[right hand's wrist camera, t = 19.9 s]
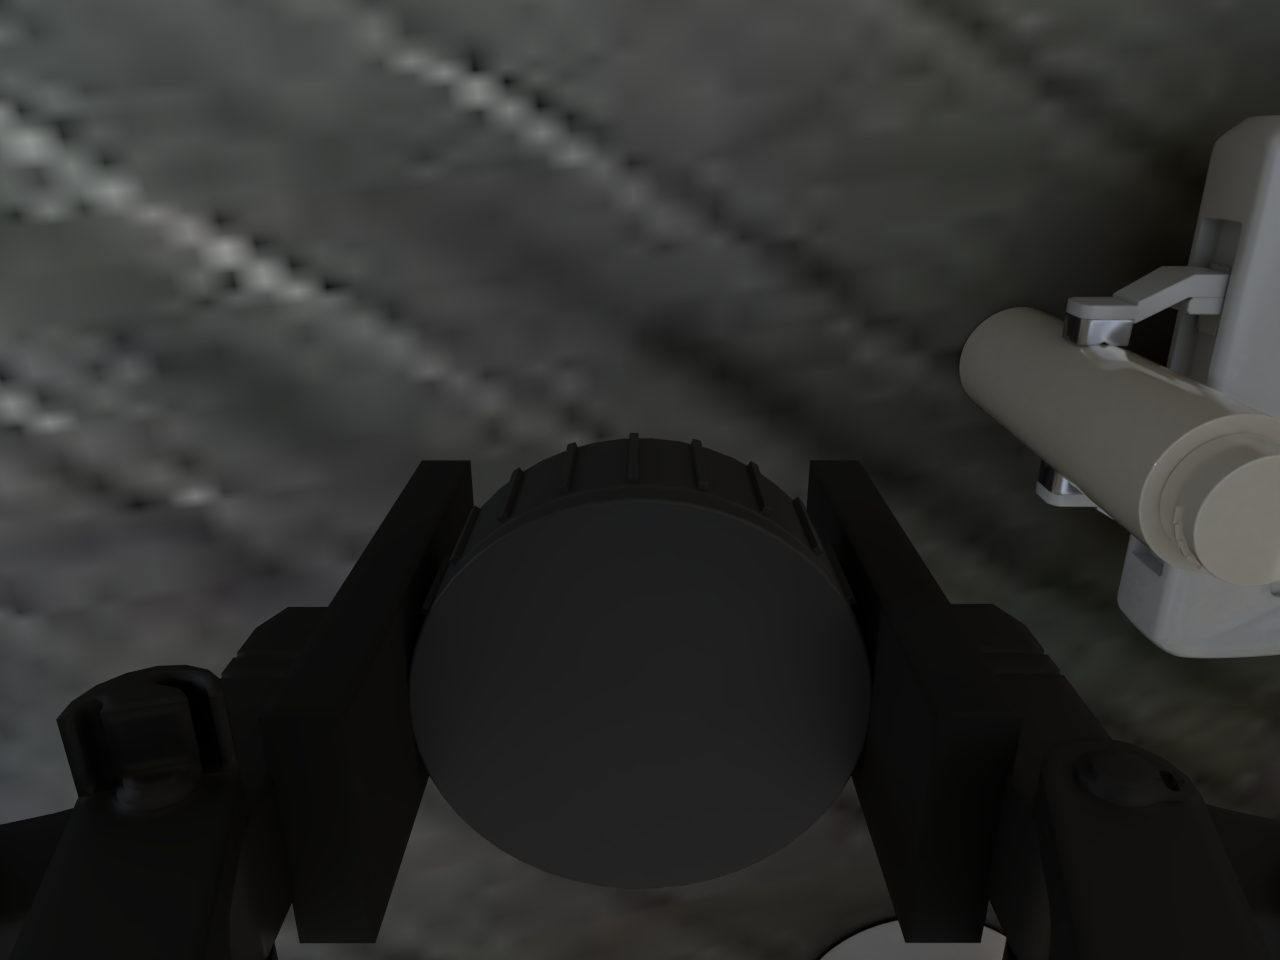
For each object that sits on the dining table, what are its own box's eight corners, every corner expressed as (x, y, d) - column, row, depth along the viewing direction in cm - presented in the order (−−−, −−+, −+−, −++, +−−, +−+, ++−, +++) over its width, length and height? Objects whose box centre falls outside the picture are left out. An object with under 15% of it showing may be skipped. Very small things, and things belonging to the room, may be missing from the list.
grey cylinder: (989, 434, 41) (1214, 634, 25) (939, 347, 40) (1144, 499, 23) (1088, 375, 40) (1390, 545, 24) (1041, 284, 39) (1328, 398, 22)
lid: (699, 345, 11) (710, 392, 9) (915, 668, 12) (962, 764, 11) (353, 574, 12) (300, 658, 10) (594, 841, 14) (586, 956, 12)
